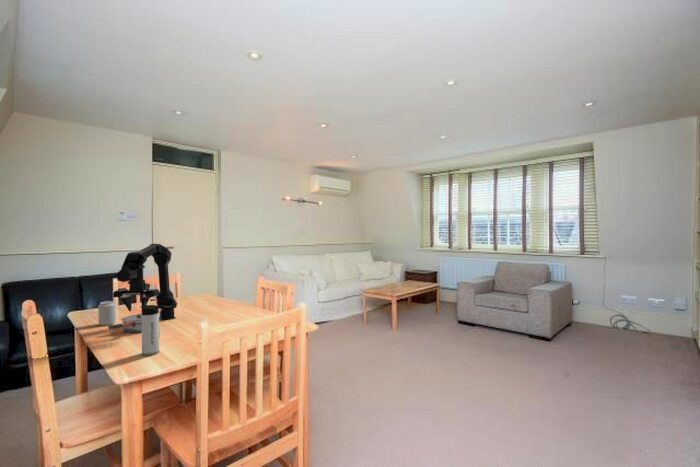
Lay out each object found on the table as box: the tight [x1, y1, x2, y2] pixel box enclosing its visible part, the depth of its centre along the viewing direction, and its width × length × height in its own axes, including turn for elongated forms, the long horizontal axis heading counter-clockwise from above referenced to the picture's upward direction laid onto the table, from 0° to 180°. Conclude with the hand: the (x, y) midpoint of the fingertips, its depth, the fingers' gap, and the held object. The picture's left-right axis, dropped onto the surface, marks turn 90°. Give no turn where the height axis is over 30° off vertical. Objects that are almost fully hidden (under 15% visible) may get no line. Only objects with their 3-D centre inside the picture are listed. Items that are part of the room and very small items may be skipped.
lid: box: [121, 313, 142, 328], centre depth 171 cm, size 20×15×2 cm
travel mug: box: [140, 304, 160, 357], centre depth 141 cm, size 6×7×20 cm
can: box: [97, 300, 117, 327], centre depth 183 cm, size 8×8×12 cm
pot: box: [107, 316, 163, 335], centre depth 173 cm, size 23×14×5 cm, turn 137°
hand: (136, 311), depth 163 cm, fingers open, 6 cm apart
